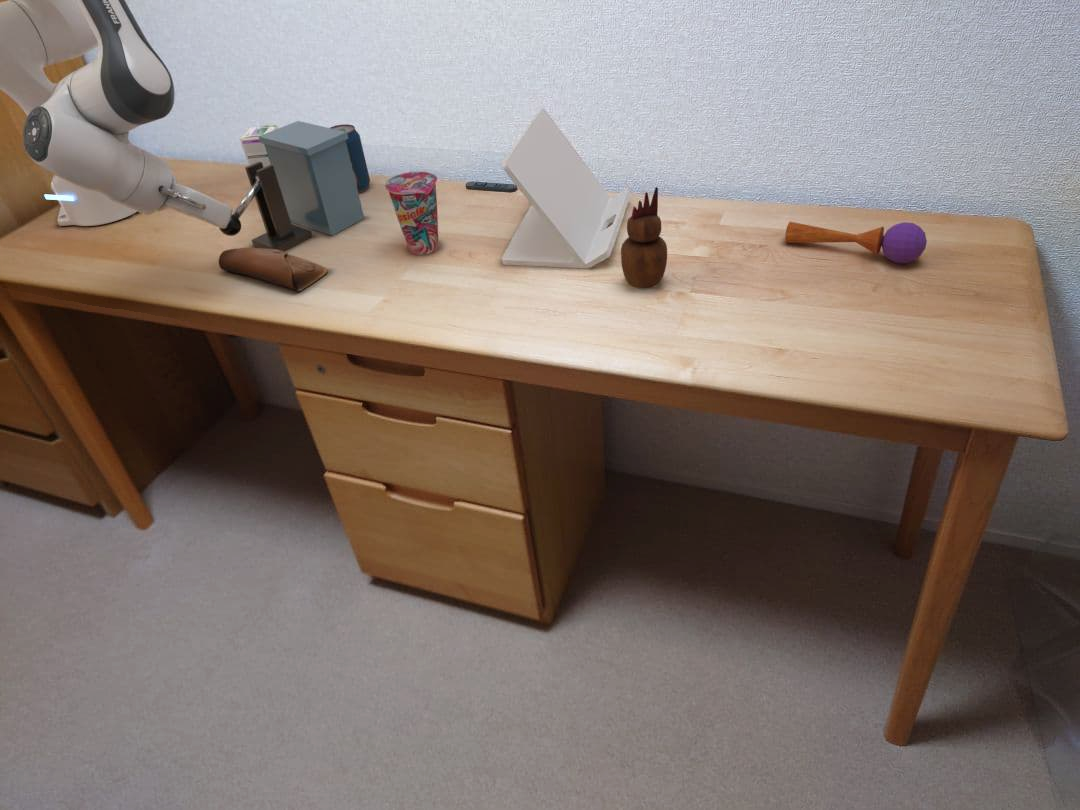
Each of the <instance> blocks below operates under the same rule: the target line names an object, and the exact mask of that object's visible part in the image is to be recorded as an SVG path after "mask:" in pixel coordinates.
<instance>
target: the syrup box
mask: <svg viewBox="0 0 1080 810" xmlns="http://www.w3.org/2000/svg"><path fill="white" fill-rule="evenodd" d="M278 128H279V126H278V125H271V124H269V125H268V124H267V125H257V126H253V127H249V128H248V130H247V131H246V132H245V133H244V134H243V135H242V136H241V137H240V138H239V141H240V144H241V147H242V150H243V153H244V156H245V158H246V161H247V166H250V165H252V164H255V163H257V162H262V164H263V167H266V166H268V165H271V164H270V161H269V158H268V155H267V152H266V148H265V145H264V144H263V143H260V140H259V136H261V135H263V134H266V133H268V132H271V131H273V130H276V129H278Z"/></svg>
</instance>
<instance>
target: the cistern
mask: <svg viewBox="0 0 1080 810" xmlns="http://www.w3.org/2000/svg"><path fill="white" fill-rule="evenodd" d="M346 139H348V135H347V132H344V131H340V130H336V129H331V128H330V127H327V126H322V125H318V124H314V123H311V122H310V123H309V122H305V121H301V120H296V121H294V122H291V123H288V124H286V125H284V126H281V127H278V129H276V130H273V131H271V132H268V133H266V134H263V135H261V136H259V140H260V143H263V144H264V145H265V148H266V152H267V155H268V158H269V161H270V164H271V165H273V167H274V170H275V173H276V176H277V180H278V183H279V186H280V189H281V192H282V196H283V199H284V202H285V205H286V209H287V212H288V215H289V218H290V221H291V223H294V224H295V225H299V226H303V227H304V228H308V229H311V230H314V231H317V232H320V233H323V234H325V235H328V236H331V237H332V236H335V235H336V234H338V233H340V232H342V231H343V230H346V229H348V228H350V227H351V226H354V225H355V224H357V223H359V222H361V221H363V220H365V219H366V218H365V215H364V210H363V206H362V201H361V197H360V193H358V189H357V185H356V181H355V177H354V173H353V169H352V165H351V161H350V157H349V153H348V148H347V144H346Z"/></svg>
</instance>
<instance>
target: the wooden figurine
mask: <svg viewBox="0 0 1080 810" xmlns="http://www.w3.org/2000/svg"><path fill="white" fill-rule="evenodd" d="M637 203H638V204H637V207H636V206H633V208H632V211H631V216H629V217H628V219H627V222H626V232H627V235H628V237H627V238H626V239H625V240H624V241H623V242H622V244H621V248H620V263H621V269H622V273H623V276H624V279H625V280H626V283H627V284H628V285H629V286H630V287H633V288H636V289H641V290H642V289H645V290H646V289H651V288H654V287H656V286H658V285H660V283H661V282H662V280H663V277H664V275H665V272H666V268H667V262H668V247H667V246H668V245H667V242H666V241H665V240H664V239H663V238H662V236H660V235H661V233H662V220H661V217H660V216H659V215H658V213H659V212H658V211H659V207H658V206H659V188H658V186H655V188H654V192H653V194H652V198H651V201H650V199H649V192H647V191H646V192H645V193H644V198H643V202H642V200H638V202H637Z"/></svg>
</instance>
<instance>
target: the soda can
mask: <svg viewBox="0 0 1080 810" xmlns="http://www.w3.org/2000/svg"><path fill="white" fill-rule="evenodd" d="M329 128H331V129H336V130H340V131H344V132H347V135H348V139H346V144H347V148H348V153H349V157H350V161H351V165H352V169H353V173H354V177H355V181H356V185H357V189H358V194H360V193H363V192H365V191H366V190H368V188H369V185H370V182H371V178H370V173H369V169H368V166H367V165H368V164H367V161H366V157H365V156H366V155H365V151H364V148H363V144H362V139H361V135H360V133H359V132H358V131H357V130H356V127H355V126H354V125H353V124H347V123H346V124H337V125H333V126H331V127H329Z"/></svg>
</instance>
